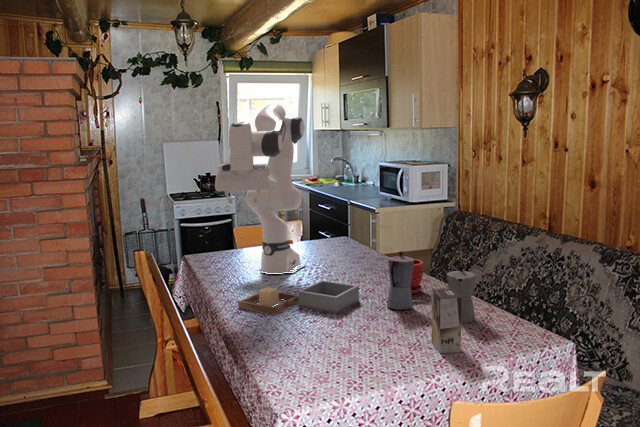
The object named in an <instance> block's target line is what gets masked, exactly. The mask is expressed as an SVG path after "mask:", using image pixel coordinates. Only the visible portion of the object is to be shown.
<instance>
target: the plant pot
mask: <svg viewBox="0 0 640 427" xmlns="http://www.w3.org/2000/svg"><path fill="white" fill-rule="evenodd" d="M413 260H414V264H413V271H412V279H411V284H410V287H411V295H415V294H417V293H420V291H422V285H421V282H422V280H423V277H424V276H423V275H424V262H423V261H422V260H420V259H417V258H416V259H415V258H413Z"/></svg>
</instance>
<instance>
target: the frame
mask: <svg viewBox="0 0 640 427" xmlns="http://www.w3.org/2000/svg"><path fill="white" fill-rule="evenodd" d="M279 299H284V300H286V301H284V300H283V301H282V302H279V304H278V305H276V306H274V307H270V306H265V305H260V303H256V302H255V301H257V300H259V292H257V293H255V294H253V295H250V296H247V297H245V298H243V299H241V300H238V301H237V305H238V306H237V307H238V309H240V308H243V309H242V310H245V309H248V310H247V311H250V310H253V311H252V312H255V311H258V312H257V313H260V312H263V313H262V314H265V313H268V314H267V315H270V314H273V315H272V316H275V315H277V314H279V313H281V312H283V311H285V310H287V309H289V308H291V307H293V306H295V305H297V304H299V303H298V302H299V301H298V294H297V295H296V294H292V293H285V292H280V291H279ZM259 301H260V300H259ZM253 302H254V303H253ZM257 302H258V301H257ZM296 303H297V304H296ZM294 304H295V305H294ZM292 305H293V306H292ZM290 306H291V307H290ZM288 307H289V308H288ZM286 308H287V309H286ZM284 309H285V310H284ZM282 310H283V311H282ZM280 311H281V312H280ZM278 312H279V313H278ZM276 313H277V314H276ZM274 314H275V315H274Z"/></svg>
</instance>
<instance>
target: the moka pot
mask: <svg viewBox="0 0 640 427" xmlns="http://www.w3.org/2000/svg"><path fill="white" fill-rule="evenodd" d="M398 254H399V255H397V256H391V257H390V256H389V257H388V258H387V259H388V262H387V263H388V272H389V281H390V283H389V292H388V296H387V303H386V306H387V307H388V308H389V309H392V310H398V311H399V310H400V311H402V310H403V311H404V310H410V309H412V308H413V299H412V296H413V295H412V294H411V287H410V284H411V279H412V271H413V264H414V260H413V259H414V258H412V257H410V256H406V255H405V256H404V251H399V252H398Z"/></svg>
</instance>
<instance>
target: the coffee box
mask: <svg viewBox="0 0 640 427" xmlns="http://www.w3.org/2000/svg"><path fill="white" fill-rule="evenodd" d="M431 343H432V345H433V346H434V347H435V349H436V350H437V351H438V353H439V354H449V353H450V354H452V353H461V350H462V323H461V297H460V296H459V295H458V294H457V293H456V292H455V291H454V290H452V289H449V288H439V289H431Z"/></svg>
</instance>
